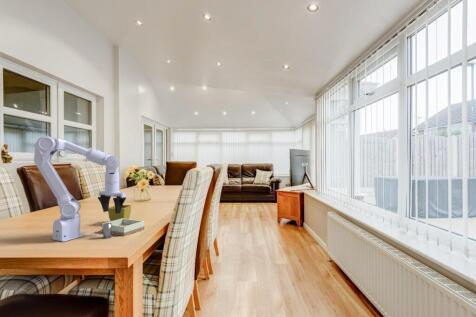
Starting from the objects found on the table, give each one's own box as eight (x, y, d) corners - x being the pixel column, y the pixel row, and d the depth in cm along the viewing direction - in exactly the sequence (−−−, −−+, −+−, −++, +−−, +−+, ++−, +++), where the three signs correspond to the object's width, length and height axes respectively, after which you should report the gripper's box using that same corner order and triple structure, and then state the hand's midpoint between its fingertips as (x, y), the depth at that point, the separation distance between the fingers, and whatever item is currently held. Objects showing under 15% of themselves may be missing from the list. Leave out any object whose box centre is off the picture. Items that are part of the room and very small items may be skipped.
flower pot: (124, 225, 132) (124, 208, 132) (107, 225, 132) (107, 207, 132) (131, 221, 141) (131, 205, 141) (115, 221, 141) (115, 204, 141)
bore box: (124, 236, 115) (124, 227, 115) (101, 232, 121) (102, 223, 120) (144, 229, 126) (144, 221, 126) (122, 226, 131) (123, 218, 131)
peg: (106, 239, 111) (106, 224, 111) (101, 238, 112) (101, 224, 112) (113, 237, 114) (113, 223, 114) (107, 236, 115) (108, 222, 115)
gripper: (131, 182, 120) (130, 212, 120) (107, 181, 125) (107, 209, 125) (118, 183, 113) (118, 215, 113) (94, 182, 119) (94, 212, 119)
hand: (111, 212), depth 119 cm, fingers open, 7 cm apart
